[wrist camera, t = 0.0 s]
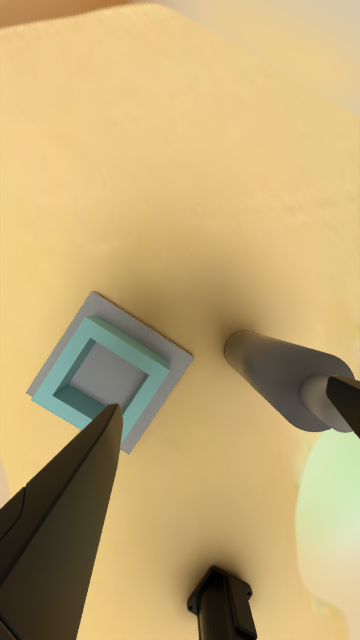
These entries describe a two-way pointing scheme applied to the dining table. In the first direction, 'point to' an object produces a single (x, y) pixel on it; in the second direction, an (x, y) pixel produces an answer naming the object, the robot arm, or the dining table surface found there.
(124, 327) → the socket
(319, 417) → the plug
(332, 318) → the dining table surface
